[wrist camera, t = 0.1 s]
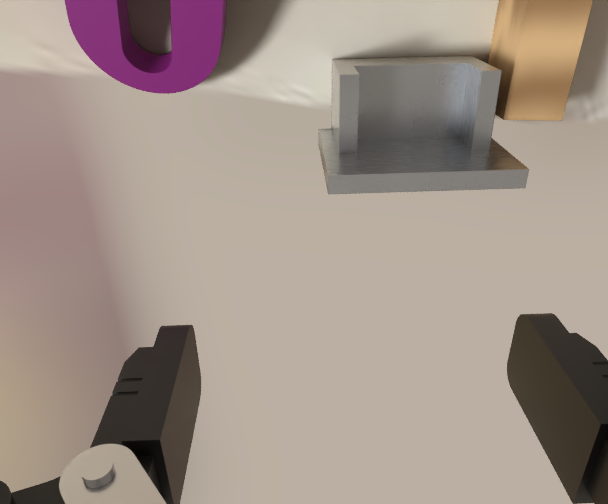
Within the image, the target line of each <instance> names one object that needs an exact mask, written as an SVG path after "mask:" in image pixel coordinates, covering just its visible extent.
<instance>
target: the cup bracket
mask: <svg viewBox="0 0 608 504" xmlns="http://www.w3.org/2000/svg"><path fill="white" fill-rule="evenodd" d="M501 71H502V70H499V69H497V68H495V67H493V66H491V65H489V64H487V63H485V62H483V61H481V60H479V59H477V58H475V57H473V56H443V57H405V58H367V59H332V129H319V149H320V154H321V159H322V165H323V169H324V175H325V180H326V186H327V191H328V194H350V193H384V192H416V191H447V190H480V189H514V188H525V187H526V182H527V177H528V172H529V169H528V168H527V167H526V166H524V165H523V164H522V163H521V162H520V161H518V160H517V159H516V158H515V157H514V156H512V155H511V154H510V153H509V152H508V151H507V150H505V149H504V148H503V147H502V146H500V145H499V144H498V143H497V142H496V141H495V140H493V139H492V138H491V136H492V130H493V123H494V117H495V110H496V104H497V97H498V91H499V84H500V78H501Z"/></svg>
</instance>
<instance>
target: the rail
mask: <svg viewBox="0 0 608 504" xmlns="http://www.w3.org/2000/svg"><path fill="white" fill-rule="evenodd" d="M592 3H593V0H499V4H498V9H497V15H496V20H495V25H494V31H493V36H492V42H491V47H490V53H489V58H488V64H489V65H491V66H493V67H495V68H497V69H499V70H502V71H501V78H500V84H499V91H498V97H497V104H496V110H495V114H496V115H498V116H499V117H500V118H502V119H503V120H558V121H562V118H563V115H564V111H565V107H566V103H567V99H568V95H569V91H570V88H571V84H572V80H573V76H574V72H575V68H576V64H577V61H578V57H579V53H580V49H581V45H582V41H583V37H584V34H585V30H586V26H587V22H588V18H589V14H590V10H591V7H592Z"/></svg>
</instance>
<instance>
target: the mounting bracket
mask: <svg viewBox="0 0 608 504" xmlns="http://www.w3.org/2000/svg"><path fill="white" fill-rule="evenodd" d="M65 4H66V9H67V14H68V19H69V23H70V26H71V29H72V31H73V34H74V36H75V38H76V40H77V41H78V43H79V45H80V46H81V48H82V49H83V50H84V52H85V53H86V54H87V55H88V57H89V58H90V59H91V60H92V61H93V62H94V63H95V64H96V65H97V66H98V67H99V68H101V69H102V70H103V71H104V72H106V73H107V74H108V75H110V76H111V77H113V78H114V79H116V80H118V81H120V82H122V83H124V84H126V85H128V86H131V87H133V88H136V89H139V90H143V91H147V92H153V93H176V92H181V91H184V90H188V89H190V88H192V87H194V86H196V85H198V84H199V83H201V82H202V81H203V80H205V79H206V78H207V77H208V76H209V74H210V73H211V72H212V70H213V69H214V67H215V65H216V63H217V61H218V58H219V54H220V50H221V46H222V41H223V37H224V32H225V21H226V6H227V0H170V5H171V42H172V52H170V53H168V54H166V55H154V54H150V53H148V52H146V51H144V50H143V49H141V48H140V47H139V46H138V45H137V44H136V43H135V42H134V40H133V38H132V36H131V33H130V27H129V17H128V7H127V0H65Z"/></svg>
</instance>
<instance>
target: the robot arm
mask: <svg viewBox="0 0 608 504" xmlns="http://www.w3.org/2000/svg"><path fill="white" fill-rule="evenodd" d="M507 374H508V380H509V383H510V387H511V389H512V390H513V393H514V394H515V396H516V398H517V400H518V402H519V404H520V405H521V407H522V409H523V411H524V413H525V415H526V417H527V418H528V420H529V423H530V424H531V426H532V428H533V430H534V432H535V434H536V436H537V437H538V439H539V441H540V443H541V445H542V447H543V449H544V450H545V452H546V454H547V456H548V458H549V460H550V462H551V464H552V465H553V467H554V469H555V471H556V472H557V475H558V477H559V478H560V480H561V482H562V484H563V486H564V488H565V489H566V492H567V493H568V495H569V497H570V499H571V501H572V503H573V504H577V503H595V504H608V360H607V359H606V358H605V357H604V355H603V354H602V353H601V352H600V351H599V349H598V348H597V347H596V346H595V345H593V344H592V343H590V342H589V341H587V340H586V339H585V338H583V337H582V336H580V335H579V334H577V333H569V332H568V331H567V330H566V328H565V327H564V326H563V325H562V323H561V322H560V321H559V319H558V318H557V317H556V316H555V315H554V314H551V313H550V314H549V313H548V314H522V315H520V316H519V317H518V319H517V321H516V325H515V330H514V335H513V340H512V344H511V349H510V353H509V358H508V363H507ZM200 395H201V374H200V366H199V360H198V353H197V346H196V340H195V333H194V328H193V326H192V325H176V326H161V327H160V329H159V332H158V335H157V338H156V341H155V344H154V347H143V348H138V349H137V350H136V351H135V352H134V353H133V354H132V355H131V356H130V357H129V358H128V359H127V360H126V361H125V363H124V365H123V367H122V370H121V373H120V375H119V378H118V382H116V385H115V387H114V390H113V395H112V396H111V398H110V400H109V402H108V405H107V407H106V410H105V412H104V415H103V417H102V420H101V423H100V425H99V428H98V430H97V432H96V435H95V437H94V440H93V442H92V445H91V447H90V449H88V450H85V451H84V452H82V453H81V454H79V455H78V456H77V457H75V458H74V459H73V460H72V461H71V462H70V463H69V464H68V465H67V466H66V468H65V469H64V471H63V473H62V475H61V476H60V477H58V478H56V479H54V480H51V481H48V482H46V483H42V484H39V485H36V486H33V487H29V488H26V489H23V490H19V491H16V492H13V493H11V492H10V490H9V487H8V486H7V485H6V484H5V483H3V482H2V481H0V504H180V499H181V494H182V489H183V484H184V479H185V474H186V469H187V463H188V458H189V453H190V448H191V443H192V438H193V432H194V427H195V422H196V417H197V412H198V406H199V401H200Z"/></svg>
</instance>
